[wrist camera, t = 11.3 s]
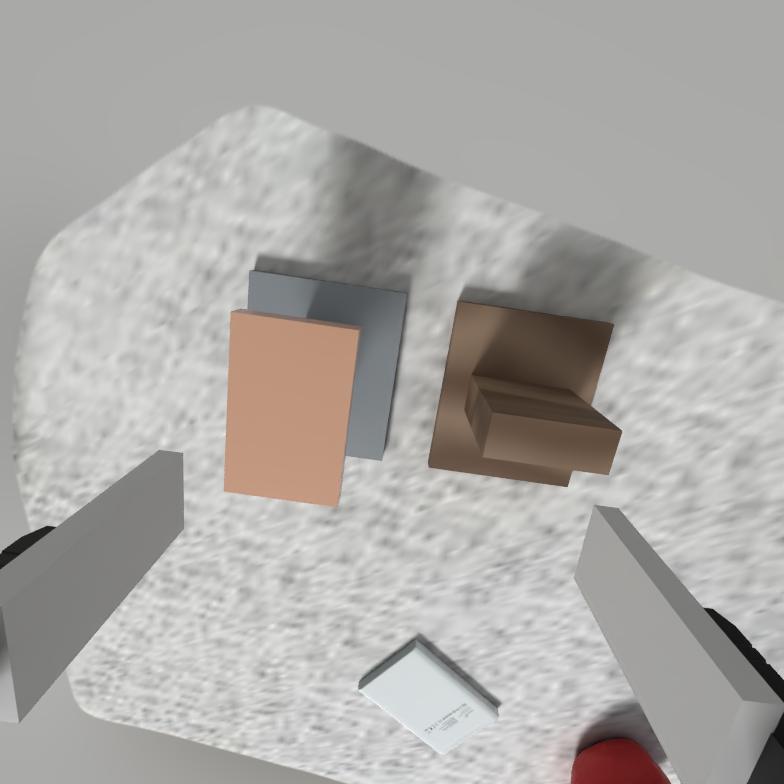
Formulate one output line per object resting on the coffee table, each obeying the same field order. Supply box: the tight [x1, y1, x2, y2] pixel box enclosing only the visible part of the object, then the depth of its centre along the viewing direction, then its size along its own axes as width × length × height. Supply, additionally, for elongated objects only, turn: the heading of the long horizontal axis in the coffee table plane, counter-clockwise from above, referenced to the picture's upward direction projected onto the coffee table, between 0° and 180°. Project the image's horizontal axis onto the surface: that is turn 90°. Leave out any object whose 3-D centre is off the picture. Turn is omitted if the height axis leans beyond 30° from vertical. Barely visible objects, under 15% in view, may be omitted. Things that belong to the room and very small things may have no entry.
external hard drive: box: [358, 639, 499, 755], centre depth 47 cm, size 2×8×12 cm
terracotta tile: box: [224, 309, 362, 507], centre depth 27 cm, size 7×11×2 cm, turn 172°
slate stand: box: [248, 270, 407, 461], centre depth 32 cm, size 14×12×10 cm
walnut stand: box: [428, 301, 622, 487], centre depth 33 cm, size 14×12×10 cm
